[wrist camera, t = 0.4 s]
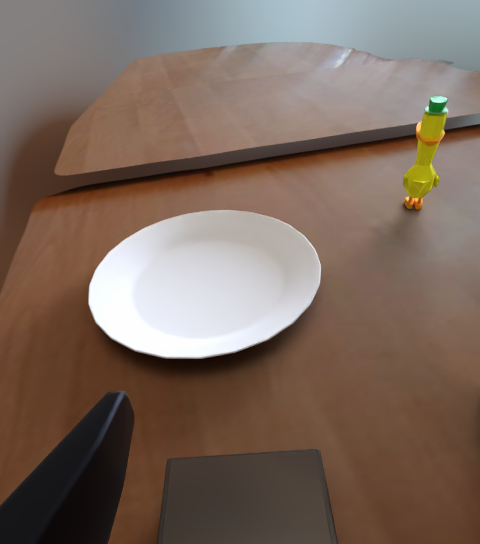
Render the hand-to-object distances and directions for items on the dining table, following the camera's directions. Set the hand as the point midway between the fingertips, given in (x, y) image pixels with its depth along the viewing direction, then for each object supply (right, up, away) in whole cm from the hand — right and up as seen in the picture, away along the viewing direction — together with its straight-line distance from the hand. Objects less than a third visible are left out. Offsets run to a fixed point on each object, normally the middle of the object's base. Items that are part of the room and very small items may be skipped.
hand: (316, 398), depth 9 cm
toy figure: (+19, +11, +36) cm, 42 cm away
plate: (-5, +1, +28) cm, 28 cm away
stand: (-1, -12, +10) cm, 16 cm away
